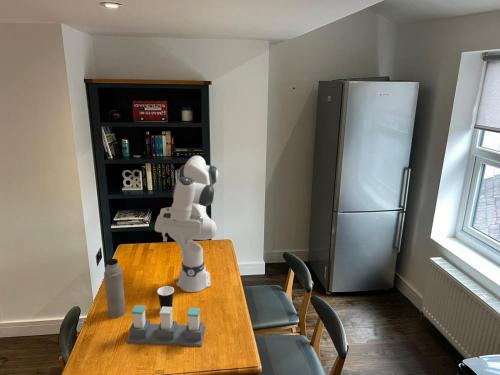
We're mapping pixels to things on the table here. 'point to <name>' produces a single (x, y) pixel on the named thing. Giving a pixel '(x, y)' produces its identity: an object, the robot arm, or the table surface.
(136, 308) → the teal key
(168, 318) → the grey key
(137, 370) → the table surface
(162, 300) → the dixie cup
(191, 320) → the teal key
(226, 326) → the table surface
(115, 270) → the thermos bottle
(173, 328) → the console
